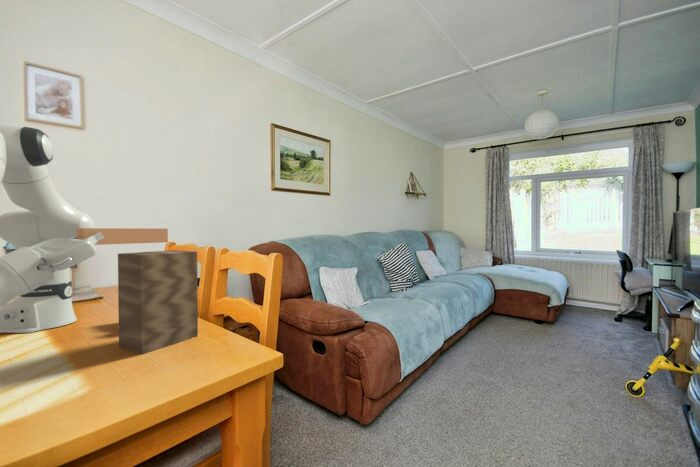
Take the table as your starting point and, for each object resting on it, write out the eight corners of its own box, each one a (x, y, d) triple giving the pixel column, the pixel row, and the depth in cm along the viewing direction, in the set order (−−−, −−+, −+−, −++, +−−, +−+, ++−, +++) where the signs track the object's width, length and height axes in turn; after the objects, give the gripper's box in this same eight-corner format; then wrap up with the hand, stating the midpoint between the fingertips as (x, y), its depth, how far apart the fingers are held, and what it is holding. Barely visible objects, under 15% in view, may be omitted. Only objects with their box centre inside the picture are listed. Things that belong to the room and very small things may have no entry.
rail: (83, 245, 75) (83, 228, 75) (76, 244, 77) (76, 228, 77) (167, 242, 92) (167, 228, 92) (160, 241, 94) (159, 228, 94)
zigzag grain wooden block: (142, 354, 83) (140, 255, 82) (118, 345, 89) (117, 253, 88) (197, 336, 97) (197, 251, 96) (174, 329, 103) (173, 250, 102)
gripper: (38, 257, 62) (109, 223, 72) (4, 253, 72) (70, 223, 82) (59, 282, 65) (124, 246, 75) (24, 275, 75) (85, 244, 85)
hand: (96, 234), depth 79 cm, fingers closed on rail, 4 cm apart
